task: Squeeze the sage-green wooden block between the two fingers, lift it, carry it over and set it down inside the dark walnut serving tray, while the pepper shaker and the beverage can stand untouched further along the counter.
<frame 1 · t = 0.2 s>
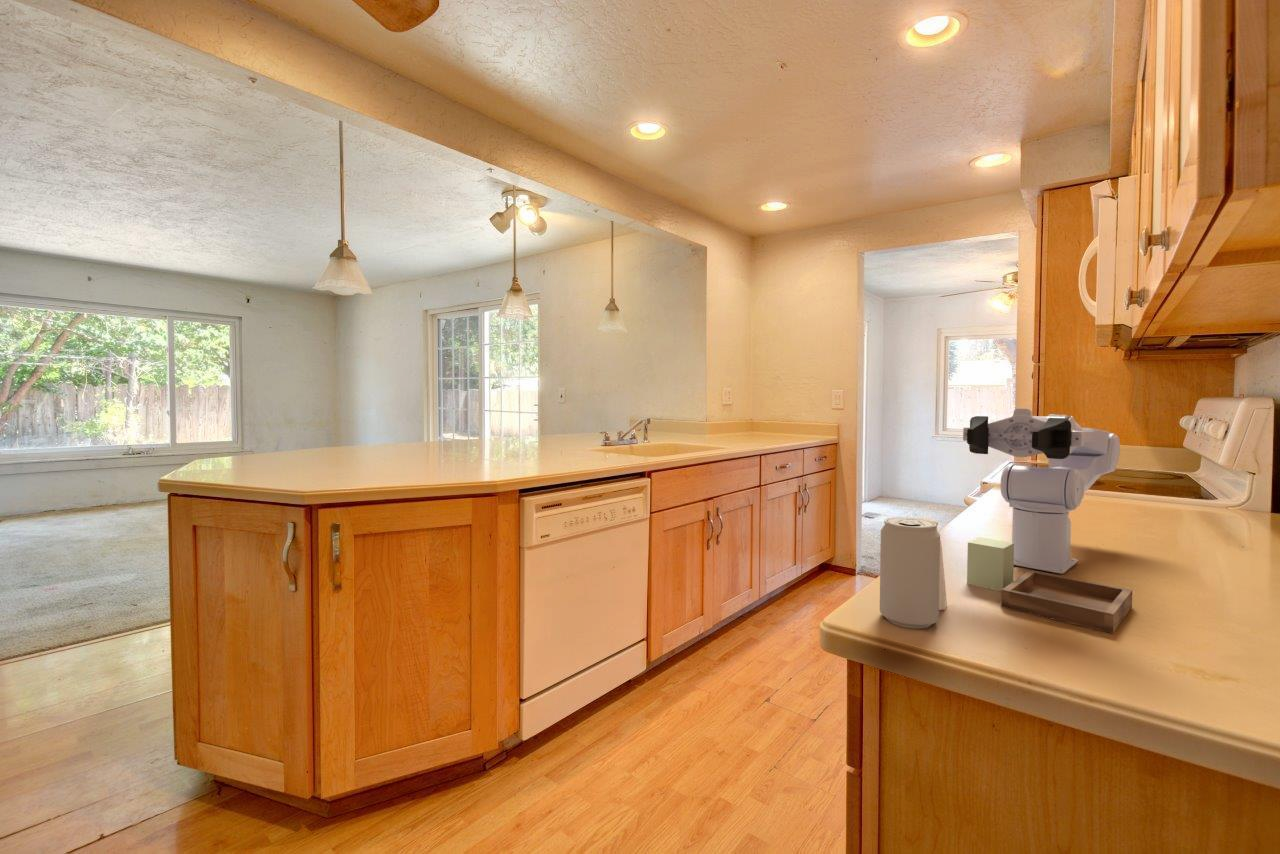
hand: (1001, 437, 76), 21 cm above the counter, tool horizontal, fingers open, 7 cm apart
beverage can: (908, 621, 67), on the counter
sage block: (989, 584, 80), on the counter
walnut tray: (1066, 606, 71), on the counter
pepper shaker: (924, 605, 73), on the counter
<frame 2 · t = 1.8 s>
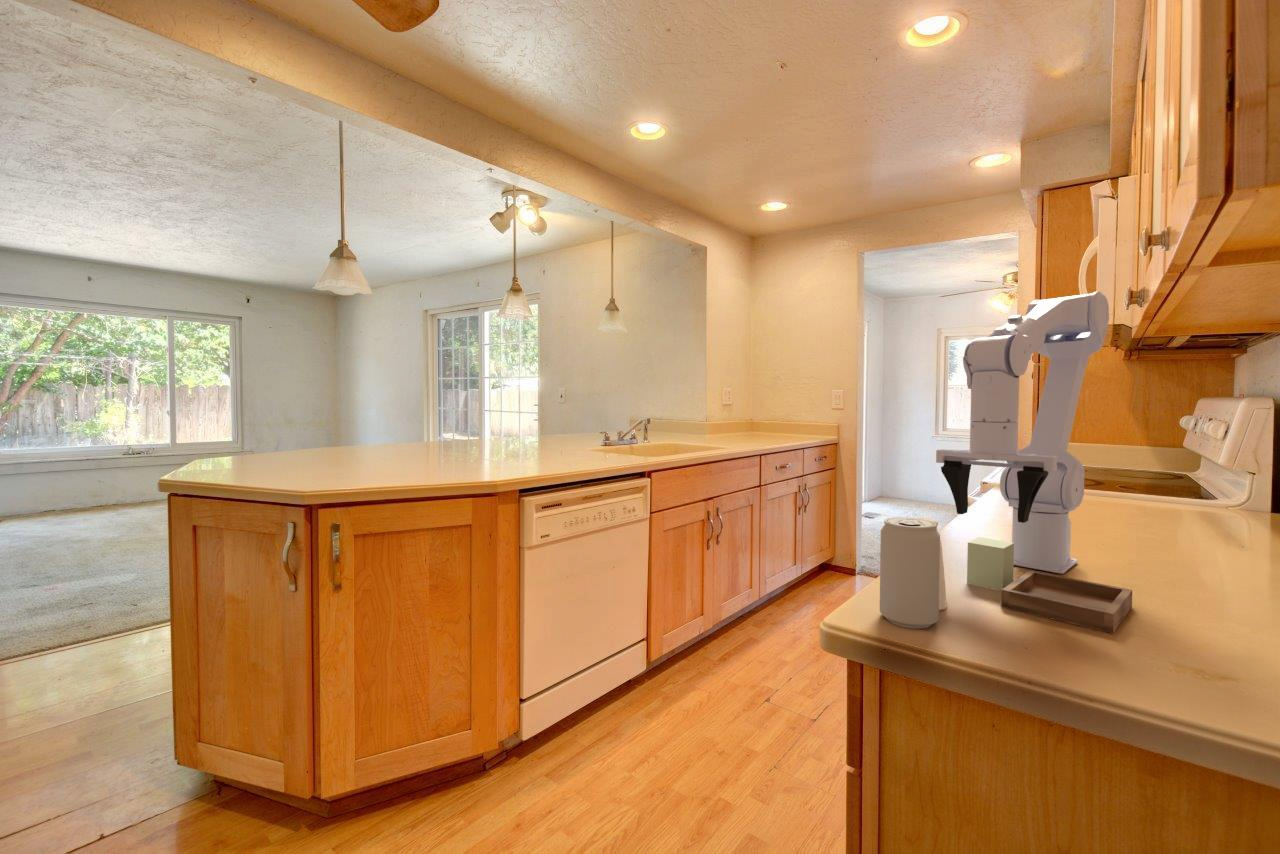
hand: (991, 517, 80), 10 cm above the counter, tool pointing down, fingers open, 7 cm apart
nothing on the counter moved.
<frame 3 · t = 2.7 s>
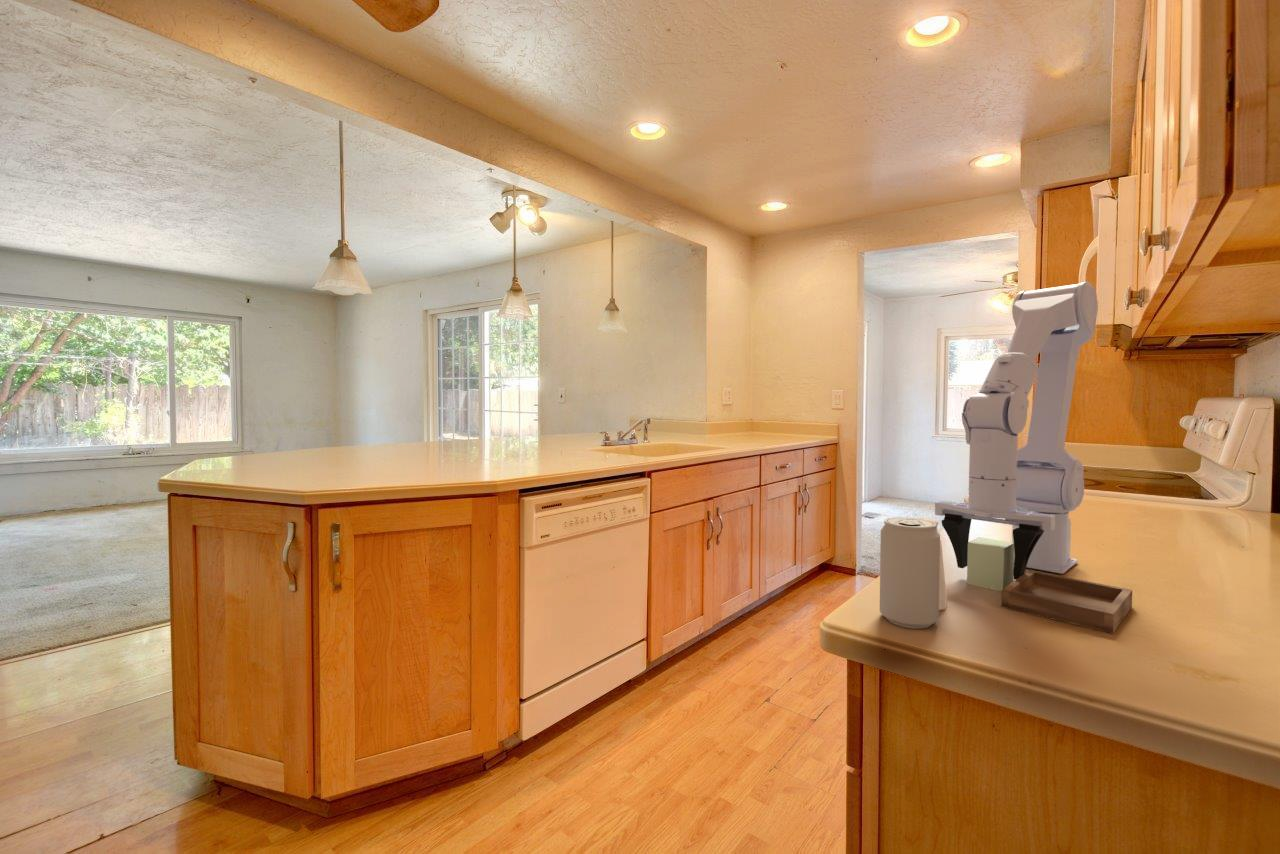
hand: (989, 572, 80), 2 cm above the counter, tool pointing down, fingers open, 6 cm apart
nothing on the counter moved.
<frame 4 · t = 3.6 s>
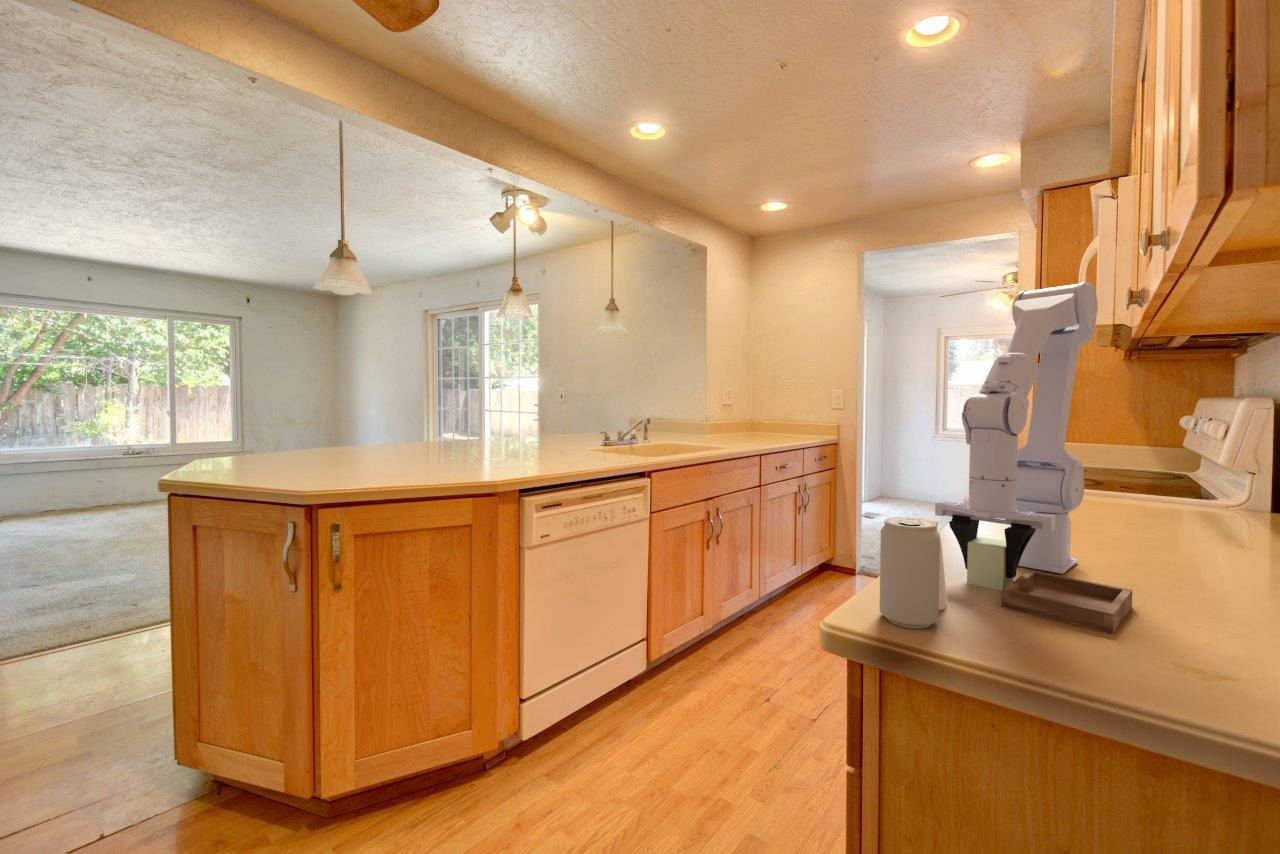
hand: (990, 572, 80), 2 cm above the counter, tool pointing down, fingers closed on sage block, 4 cm apart
sage block: (990, 583, 80), on the counter, touching gripper
everything else where it was.
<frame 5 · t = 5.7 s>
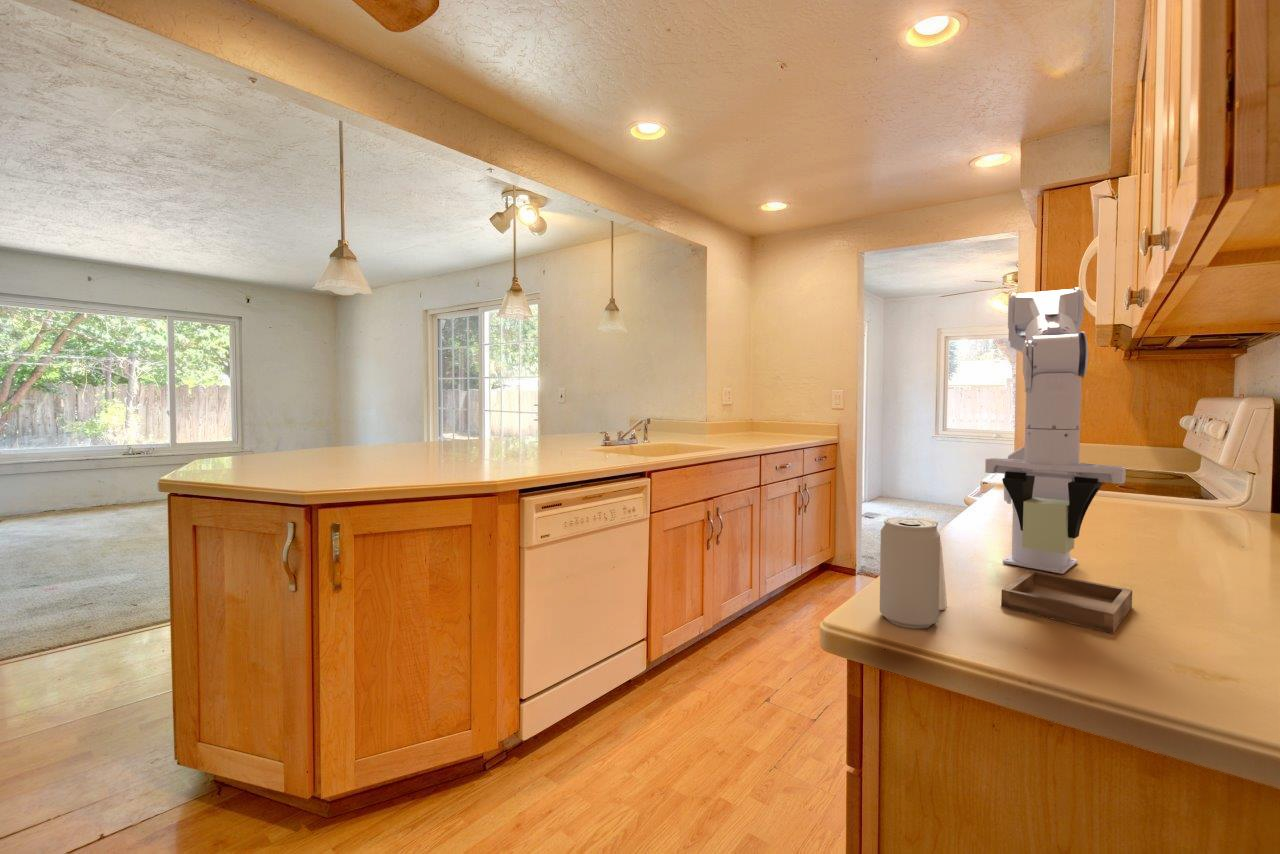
hand: (1049, 533, 73), 9 cm above the counter, tool pointing down, fingers closed on sage block, 4 cm apart
sage block: (1048, 547, 73), point 7 cm above the counter, touching gripper
everything else where it was.
when the fingers open (3 cm above the counter, at t = 8.1 s): sage block stays where it is, resting on walnut tray.
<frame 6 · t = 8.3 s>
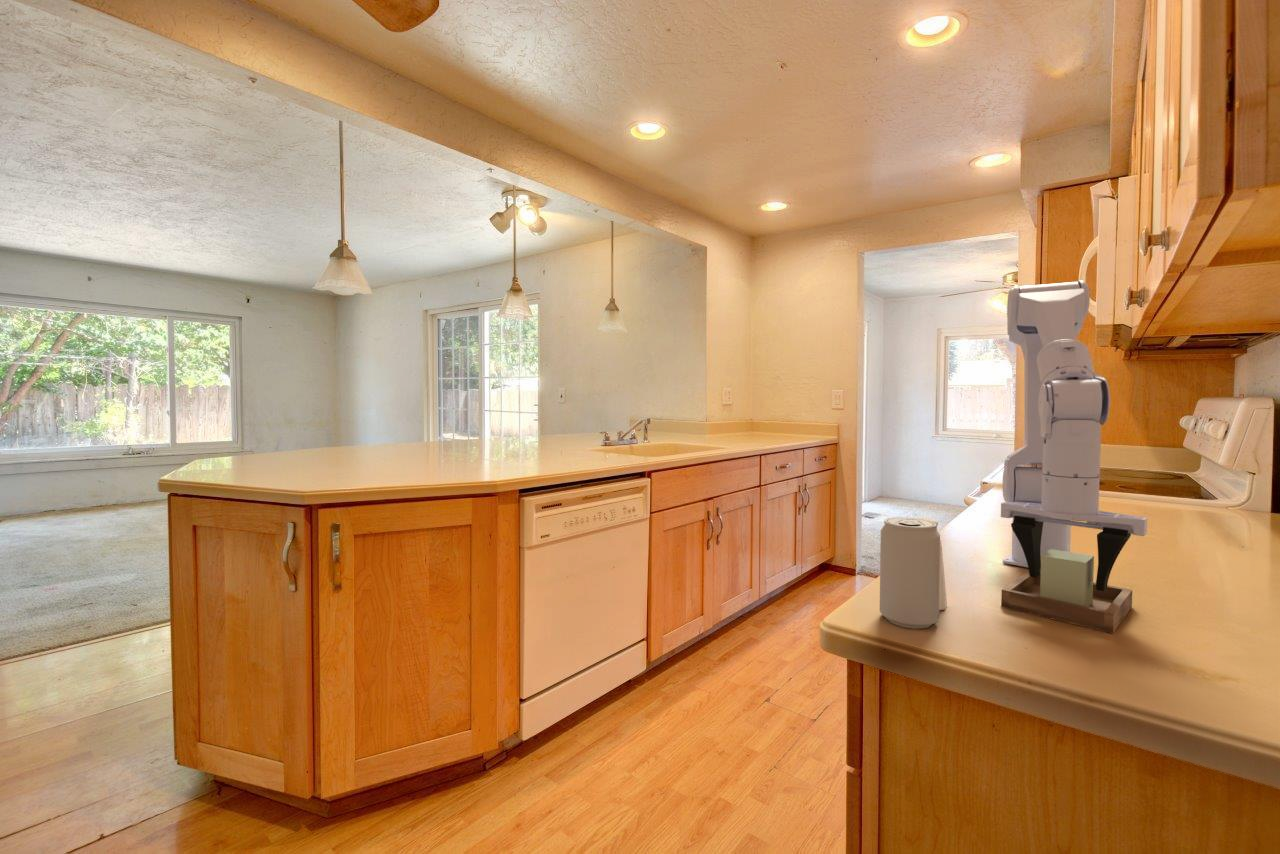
hand: (1067, 581, 71), 3 cm above the counter, tool pointing down, fingers open, 6 cm apart
sage block: (1066, 602, 71), point 1 cm above the counter, touching walnut tray
everything else where it was.
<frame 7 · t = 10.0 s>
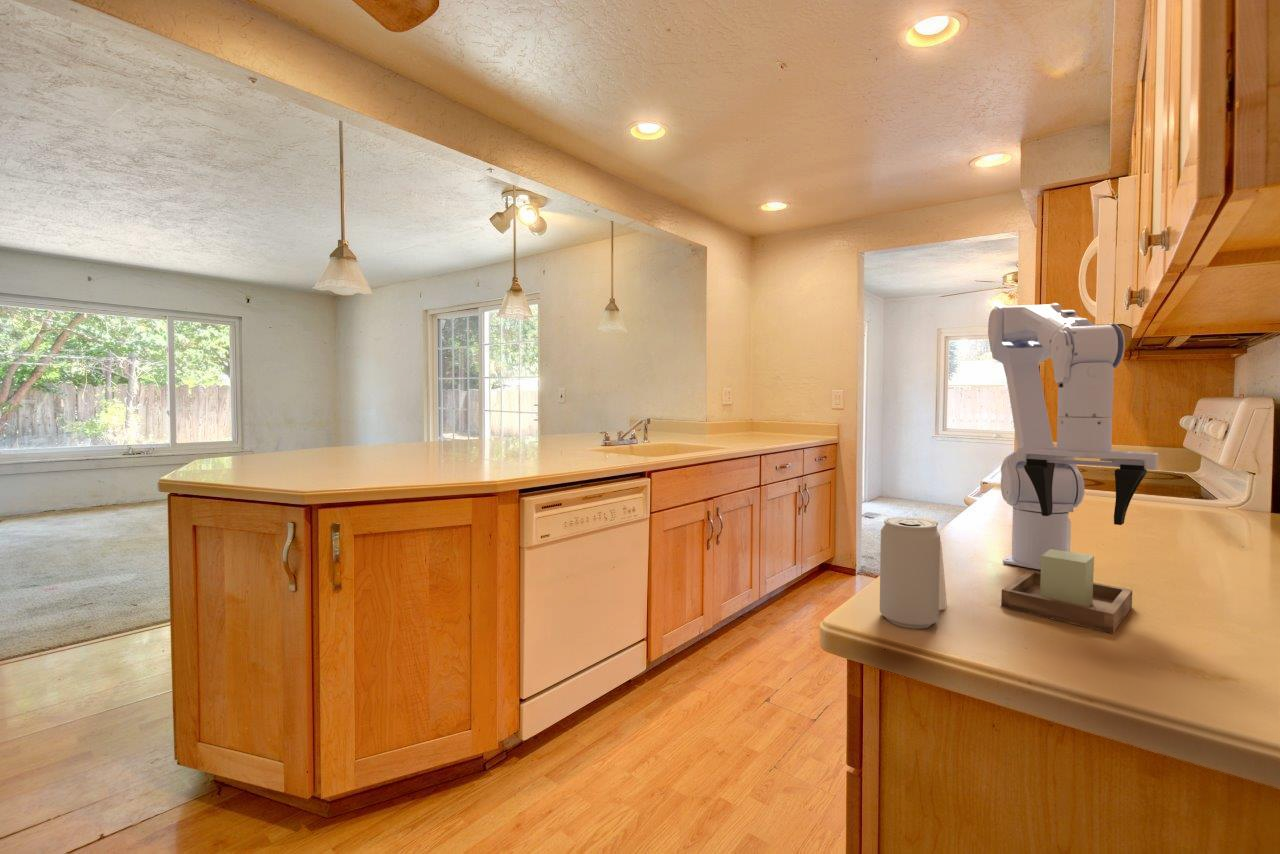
hand: (1081, 519, 75), 10 cm above the counter, tool pointing down, fingers open, 7 cm apart
nothing on the counter moved.
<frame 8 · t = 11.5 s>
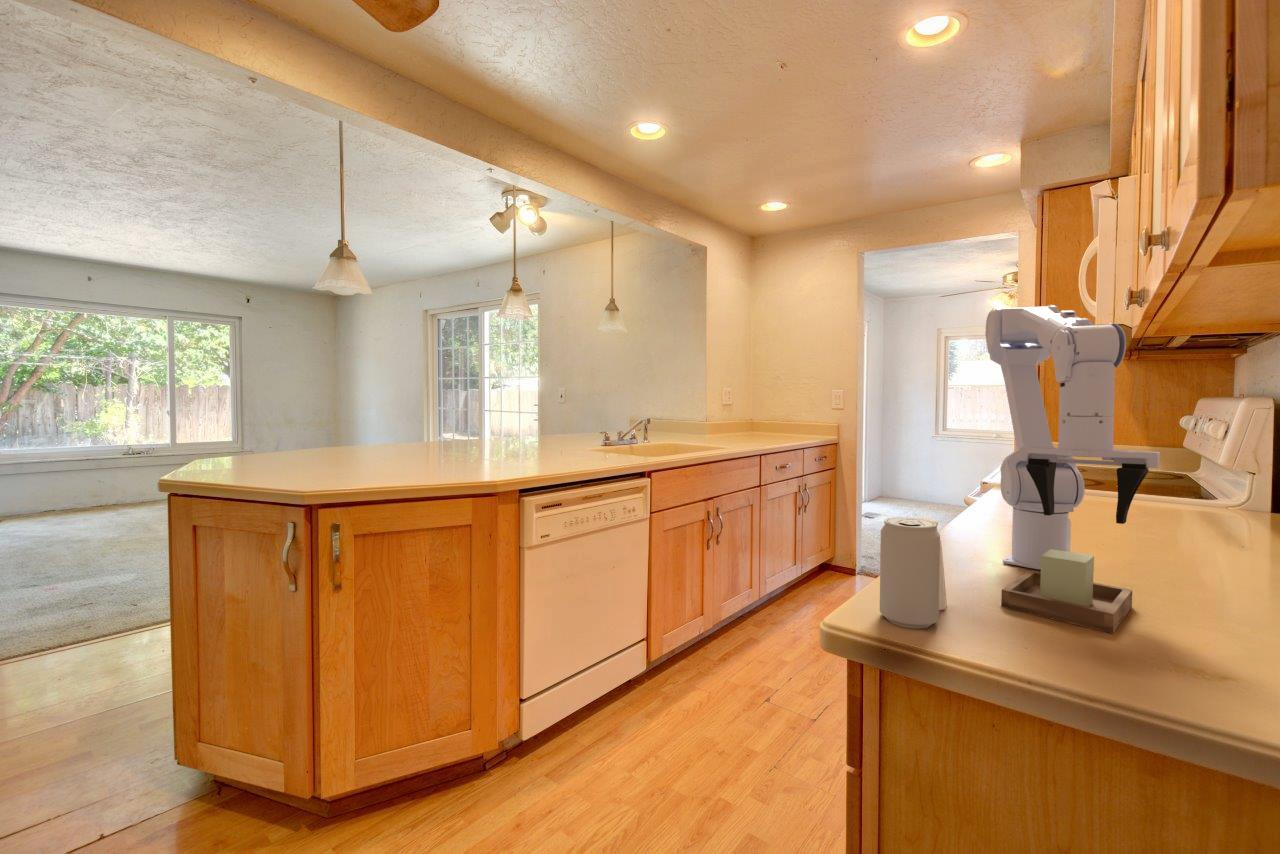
hand: (1083, 518, 75), 10 cm above the counter, tool pointing down, fingers open, 7 cm apart
nothing on the counter moved.
at the end: sage block inside the target area on the walnut tray (0.2 cm from its centre), point 0.6 cm above the walnut tray's base; sage block tilted 0°; the gripper is holding nothing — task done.
